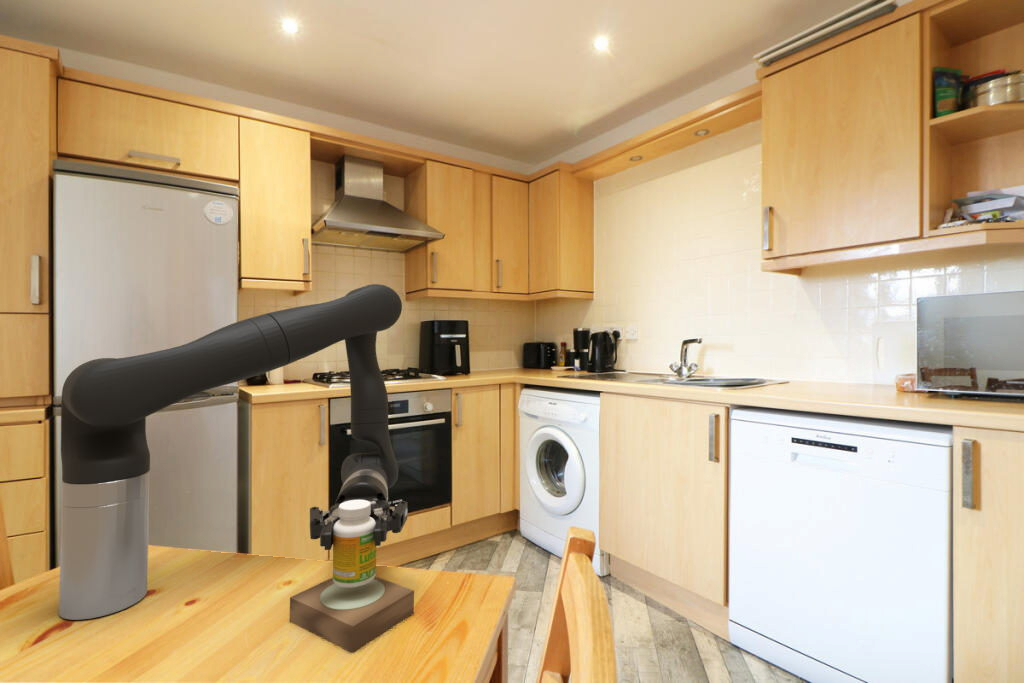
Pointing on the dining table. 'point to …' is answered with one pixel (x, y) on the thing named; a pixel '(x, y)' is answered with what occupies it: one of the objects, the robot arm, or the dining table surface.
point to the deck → (351, 611)
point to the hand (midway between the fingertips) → (353, 540)
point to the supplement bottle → (354, 545)
